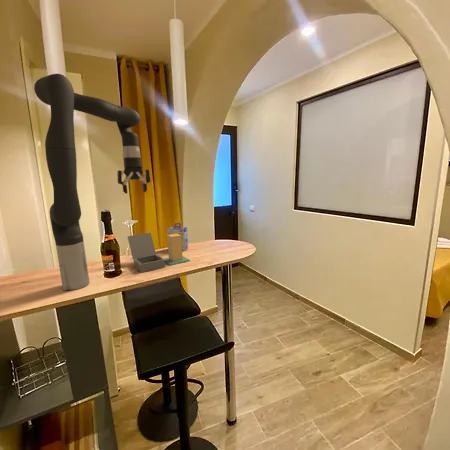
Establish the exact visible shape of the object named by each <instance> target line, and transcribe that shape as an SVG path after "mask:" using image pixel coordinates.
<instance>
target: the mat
mask: <svg viewBox="0 0 450 450" xmlns="http://www.w3.org/2000/svg"><path fill="white" fill-rule="evenodd" d="M182 257H183V260H179V261H174V262H172V261H171V260H169V257H165V258H164V257H163V259H165V264H168V265H169V266H174V265H177V264H178V265H180V264H183V263H187V262H191V259H189V258H188V257H186V256H184V255H182Z"/></svg>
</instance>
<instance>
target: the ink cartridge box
mask: <svg viewBox="0 0 450 450" xmlns="http://www.w3.org/2000/svg"><path fill="white" fill-rule="evenodd" d="M166 230H167V235H171V234H179V235H181V242H182V252H183V251H184V252H185V251H187V250H188V249H189V237H188V227H186V226H182V223H181V222H180V223H178V222H175V223H174V226H173V227H172V226H170V227H168V228H167V229H166Z"/></svg>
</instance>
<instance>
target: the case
mask: <svg viewBox="0 0 450 450" xmlns="http://www.w3.org/2000/svg"><path fill="white" fill-rule="evenodd" d="M132 259H133V258H132ZM133 266H134V267H135V268H136V269H137V270H138V271H139V273H145V272H149V271H150V272H151V271H155V270H158V269H162V268H166V262H165V259H164V257H162V256H160V255H158V254H157V253H156V254H154V255H149V256H144V257H139V258H134V259H133Z"/></svg>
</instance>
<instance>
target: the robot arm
mask: <svg viewBox="0 0 450 450" xmlns="http://www.w3.org/2000/svg"><path fill="white" fill-rule="evenodd" d="M33 88H34V93H35V95H36V97H37V98H38V99H39V100H40V102H42V103H44V104H45V105H48V106H50V107H49V108H50V122H49V126H48V129H47V132H46V136H45V140H44V148H45V150H44V151H45V159H46V165H47V169H48V173H49V177H50V181H51V182H52V187H53V203H52V205H50V208H49V219H50V224H51V229H52V230H51V231H52V236H53V238H54V242H55V248H56V253H57V261H58V267H59V274H60V280H61V285H62V290H63V292H64V291H71V290H72V291H74V290H75V291H76V290H78V289H82V288H84V287H87V286H89V284H90V277H89V268H88V263H87V255H86V249H85V242H84V235H83V233H82V230H81V225H80V220H81V216H82V211H81V210H82V209H81V204H80V200H79V194H78V187H77V186H78V185H77V183H78V182H77V181H78V178H77V177H78V171H77V168H78V166H77V165H78V164H77V151H76V140H75V123H74V115H75V114H74V112H75V111H77V112H81V113H85V114H87V115H91V116H93V117H97V118H100V119H103V120H105V121H109V122H113V123H116V125H117V128H118V130H119V134H120V136H121V142H122V143H121V144H122V159H123V168H124V170H118V169H117V172H116V174H117V184H118V185H121V186H122V191H123V193H124V194H128V186H127V184H128V182H129V181H130V180H132V181H133V180H139V181H140V182H141V183H142V192H143V193H147V192H146V191H148V186H147V184H149V183H151V175H150V170H149V169H142V167H143V165H142V156H141V150H140V144H139V142H140V141H139V136H138V134H137V133H135V132H133V131H132V127H133V128H134V127H136V126H138V125H139V124H140V123H141V116H140V114H139V113H138V112H137V111H136V110H135V109H133V108H131V107H127V106H122V105H117V104H114V103H112V102H110V101H107V100H105V99H101V98H99V97H95V96H89V95H85V94H81V93H76V92H75V91H74V87H73V85H72V82H71V81H70V80H69V79H68V78H67V76H65V75H63V74H61V73H52V74H48V75H46V76H42V77H40V78H38V79H37V80H36V82H35V83H34V87H33ZM143 174H144V175H145V178H144V177H143ZM123 175H125V178H124V179H123V178H122V176H123ZM122 179H123V180H122Z"/></svg>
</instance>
